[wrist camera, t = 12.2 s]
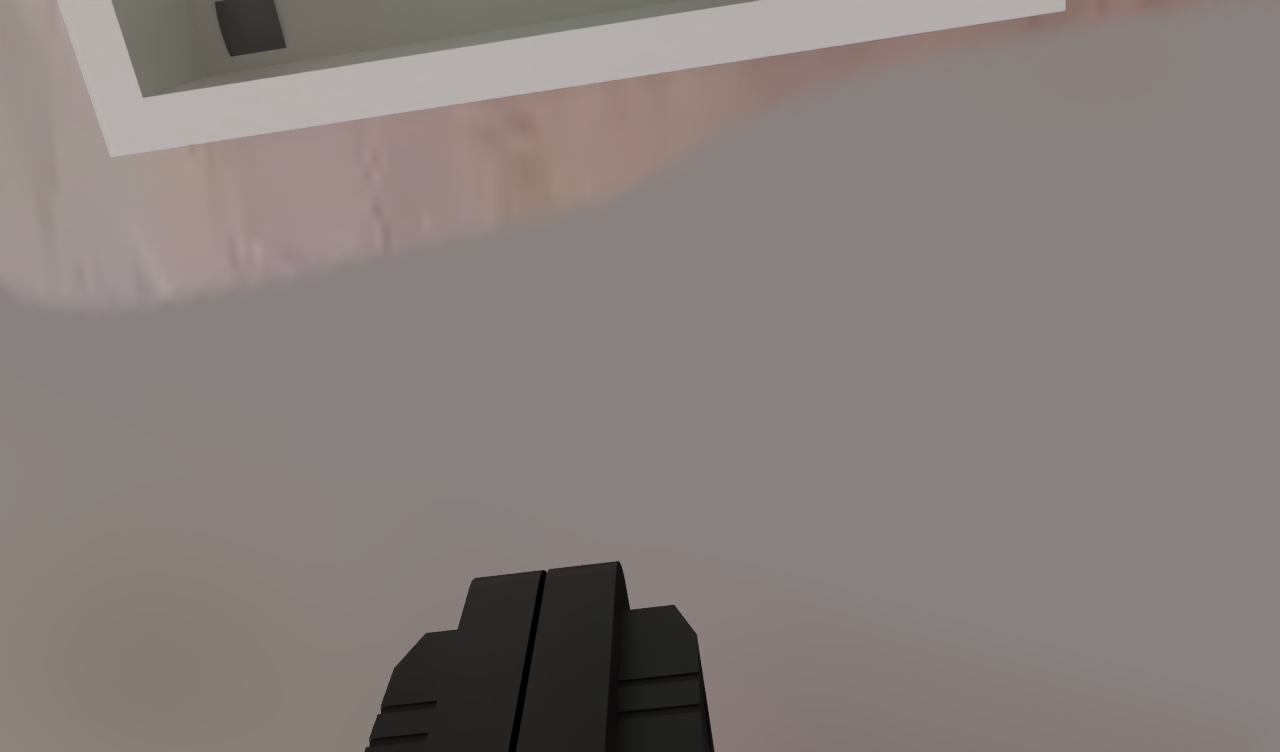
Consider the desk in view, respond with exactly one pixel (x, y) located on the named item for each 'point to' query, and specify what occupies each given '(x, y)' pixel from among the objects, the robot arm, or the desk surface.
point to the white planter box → (431, 52)
